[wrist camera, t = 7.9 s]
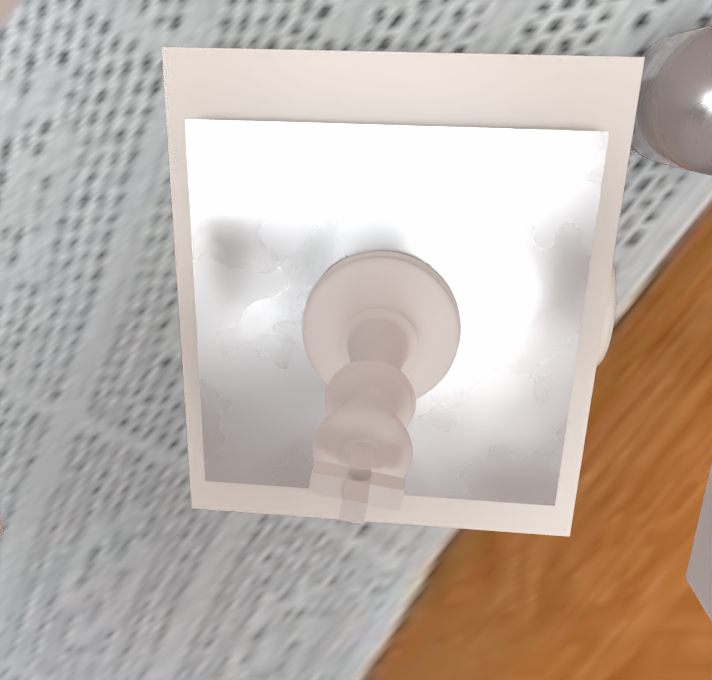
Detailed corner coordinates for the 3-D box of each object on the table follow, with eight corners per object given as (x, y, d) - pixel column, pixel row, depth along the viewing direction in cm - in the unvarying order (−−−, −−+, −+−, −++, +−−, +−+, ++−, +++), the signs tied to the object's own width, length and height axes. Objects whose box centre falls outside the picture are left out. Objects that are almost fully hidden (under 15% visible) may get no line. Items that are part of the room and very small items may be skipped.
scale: (227, 445, 30) (188, 514, 25) (211, 59, 24) (156, 45, 19) (557, 467, 29) (587, 544, 24) (614, 67, 23) (669, 56, 18)
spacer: (617, 170, 24) (655, 183, 21) (618, 41, 23) (659, 30, 19) (742, 156, 24) (804, 166, 20) (751, 23, 23) (820, 8, 19)
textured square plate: (212, 469, 24) (205, 481, 23) (193, 118, 20) (185, 119, 19) (550, 493, 23) (554, 505, 22) (601, 130, 19) (609, 131, 18)
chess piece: (317, 235, 20) (228, 350, 11) (477, 267, 20) (534, 412, 10) (292, 383, 22) (197, 596, 12) (441, 413, 22) (461, 651, 12)
